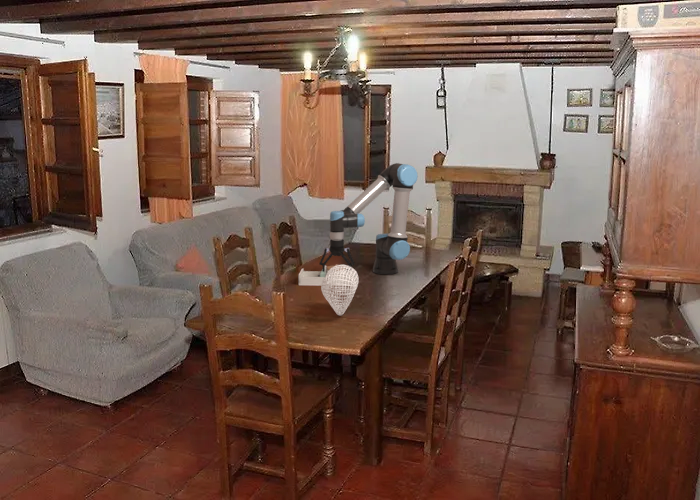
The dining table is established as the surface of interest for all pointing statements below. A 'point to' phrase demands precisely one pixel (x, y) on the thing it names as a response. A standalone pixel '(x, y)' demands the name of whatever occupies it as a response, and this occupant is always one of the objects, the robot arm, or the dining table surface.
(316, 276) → the pusher lane
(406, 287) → the dining table surface
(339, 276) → the lidded jar
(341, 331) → the dining table surface
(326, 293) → the heart
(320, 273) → the pusher
